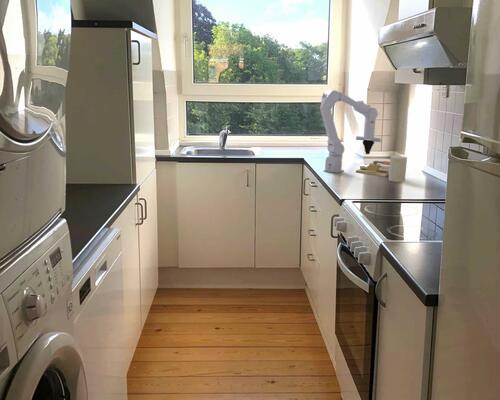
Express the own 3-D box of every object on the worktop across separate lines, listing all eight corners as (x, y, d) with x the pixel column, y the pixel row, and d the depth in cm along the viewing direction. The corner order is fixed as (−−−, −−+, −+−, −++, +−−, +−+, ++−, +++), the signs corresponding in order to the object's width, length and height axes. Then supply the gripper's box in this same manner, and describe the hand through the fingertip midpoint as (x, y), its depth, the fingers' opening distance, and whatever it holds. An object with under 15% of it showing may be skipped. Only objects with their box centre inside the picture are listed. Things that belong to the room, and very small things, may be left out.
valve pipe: (386, 174, 299) (387, 166, 299) (359, 170, 309) (359, 162, 308) (389, 173, 303) (390, 165, 302) (362, 169, 312) (362, 162, 311)
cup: (393, 182, 281) (395, 158, 278) (385, 179, 289) (387, 156, 286) (408, 181, 283) (410, 158, 281) (399, 178, 291) (401, 155, 288)
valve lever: (372, 163, 305) (372, 160, 304) (374, 163, 306) (374, 159, 306) (392, 166, 297) (392, 162, 296) (394, 166, 299) (394, 162, 298)
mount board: (384, 176, 297) (385, 174, 297) (355, 172, 307) (355, 170, 307) (392, 174, 305) (392, 171, 305) (363, 170, 315) (364, 168, 314)
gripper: (384, 130, 308) (382, 154, 311) (360, 128, 316) (358, 152, 319) (379, 130, 302) (377, 155, 305) (354, 128, 311) (353, 153, 314)
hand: (367, 154), depth 312 cm, fingers closed
